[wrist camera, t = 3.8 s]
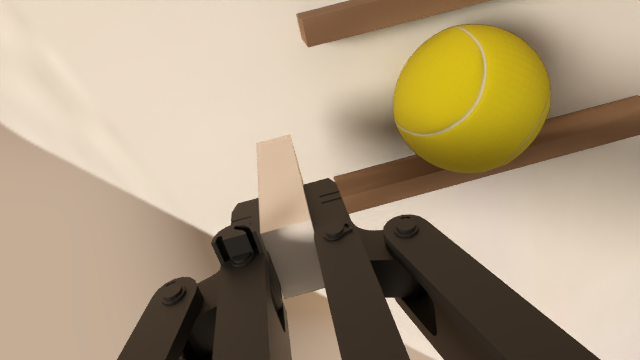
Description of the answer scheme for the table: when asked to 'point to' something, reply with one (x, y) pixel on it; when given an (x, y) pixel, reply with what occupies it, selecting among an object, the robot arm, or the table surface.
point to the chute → (414, 172)
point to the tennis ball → (471, 98)
